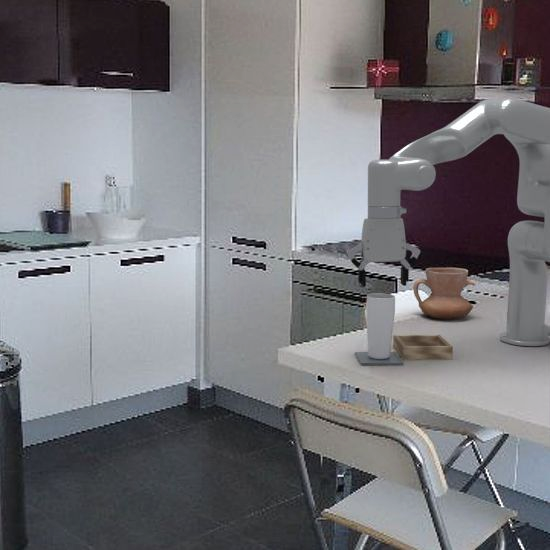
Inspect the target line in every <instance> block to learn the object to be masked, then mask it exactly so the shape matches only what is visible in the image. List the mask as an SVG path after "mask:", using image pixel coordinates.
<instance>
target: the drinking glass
mask: <svg viewBox="0 0 550 550" xmlns="http://www.w3.org/2000/svg"><path fill="white" fill-rule="evenodd" d="M365 305H366V306H365V307H366V308H365V311H366V312H365V316H366V319H365V320H366V331H367V332H366V335H367V352H368V356H369V357H370V358H373V359H387V358H389V357H390V352H391V347H392V340H393V330H394V322H395V313H396V296H395V295H393V294H391V293H382V292H375V293H368V294H367V295H366V303H365Z"/></svg>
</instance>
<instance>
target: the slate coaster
mask: <svg viewBox="0 0 550 550" xmlns="http://www.w3.org/2000/svg"><path fill="white" fill-rule="evenodd" d="M354 356H355V358H356V359H357V361H358V362H359V364H360V365H361V367H363V366H370V367H371V366H376V367H377V366H404V365H405V364H404V363H405V362H404V361H403V359H401V356H400V355H399V354H398V353H397V351H390V357H389V358H387V359H373V358H370V357H369V356H368V351H354Z"/></svg>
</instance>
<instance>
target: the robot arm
mask: <svg viewBox="0 0 550 550" xmlns="http://www.w3.org/2000/svg"><path fill="white" fill-rule="evenodd" d="M495 135H504V137H505V139H507V140H508V141H509V142H510V143H511V144H512V146H513V147H514V149H515V150H516V153H517V155H518V158H519V171H518V182H517V184H518V185H517V196H516V203H517V208H518V210H519V211H520V212H521V213H523V214H524V215H528V216H534V217H538V218H544V222H543V221H537V220H522V221H518V222H517V223H515V224H514V225H513V226H512V227H511V228H510V230H509V232H508V236H507V247H508V248H507V249H508V256H509V279H508V280H509V281H508V297H507V298H508V299H507V312H506V313H507V314H506V315H507V316H506V329H505V331H503V332H501V333H499V340H500V341H502V342H504V343H506V344H510V345H515V346H520V347H521V346H522V347H540V346H541V347H543V346H546V345H549V344H550V326H549V325H547V324H545V320H546V308H547V306H546V305H547V292H548V282H549V281H548V280H549V279H548V277H549V273H548V268H547V264H546V262H548V263H550V107H547V106H544V105H543V106H542V105H539V104H536V103H534V102H533V103H532V102H529V101H526V100H522V99H518V98H513V97H505V98H504V97H501V98H488V99H487V98H486V99H483V100H481V101H479V102H478V103H476V104H475V105H473V106H472V107H471V108H469V109H468V110H467V111H466V112H464V113H462V114H461V115H460V116H458V117H457V118H456V119H454V120H452V121H451V122H450V123H448V124H447V125H446V126H444V127H442V128H440V129H437V130H436V131H433V132H431V133H429V134H427V135H425V136H423V137H421V138H419V139H416V140H414V141H412V142H411V143H409V144H407V145H406V146H404V147H403V148H401V149H400V150H398V151H397V152H396V153H394V154H393V155H392V156H390V157H389V158H388V159H374V160H371V161H370V162H369V163H368V165H367V218H364V219H363V222H362V228H361V229H362V230H361V243H359V244H357V245H355V246H354V247H351V248H350V249H347V251H346V255H347V256H348V259H349V260H350V262H351V263H352V264H353V266H355V267H356V268H357V269H358V270H357V272H358V273H357V274H358V277H357V278H358V280H357V282H358V283H359V284H360V287H362V288H365V287H366V286H367V273H366V272H367V271H366V270H365V268H366V267H367V265H368V264H369V263H387V262H388V263H389V262H390V263H393V262H400V264H401V265H402V266H401V267H400V284H401V285H402V286H404V287H406V286H407V282H409V279H410V278H409V276H410V275H409V273H410V271H409V269H411V267H412V266H413V264H415V262H417V259H418V258H419V255H420V254H421V250H420V249H419V248H418V247H416V246H414V245H412V244H410V243H407V242H406V241H407V240H406V232H405V224H404V223H405V222H404V219H403V218H401V217H402V215H403V214H407V207H402V205H401V191H402V190H408V191H417V192H418V191H423V190H426V189H428V188H430V187H431V186H432V185H433V184H434V182H435V180H436V175H437V172H436V167H435V166H434V165H438V164H441V163H446V162H452V161H455V160H458V159H461V158H464V157H466V156H468V154H470V153H472V152H473V151H474V150H475V149H477V148H478V147H479V146H481V145H482V144H483V143H485V142H486V141H488V140H490V138H492V137H493V136H495ZM407 250H408V251H410V252H411V256H410V257H409V258H408V259H406V257H407ZM359 252H360V255H361V259H360V260H359V261H358V260H357V259H356V256H355V254H357V253H359Z"/></svg>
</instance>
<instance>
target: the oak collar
mask: <svg viewBox="0 0 550 550" xmlns="http://www.w3.org/2000/svg"><path fill="white" fill-rule="evenodd" d="M392 340H393V341H392V344H393V345H392V347H393V349H394V350H395V352H396V353H397V355H398V356H399V357H400V358H402V359H401V360H453V352H454V351H453V350H454V347H453V346H452V344H450V343H449V341H447V340H446V339H445V338H444V337H443V336H442V335H441V334H392Z"/></svg>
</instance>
